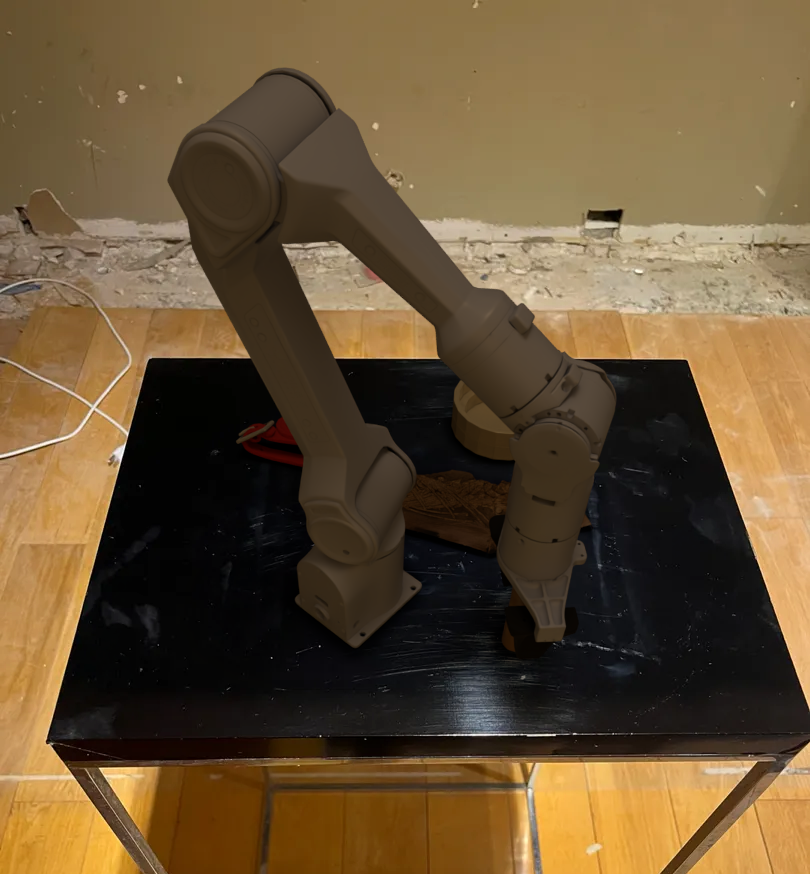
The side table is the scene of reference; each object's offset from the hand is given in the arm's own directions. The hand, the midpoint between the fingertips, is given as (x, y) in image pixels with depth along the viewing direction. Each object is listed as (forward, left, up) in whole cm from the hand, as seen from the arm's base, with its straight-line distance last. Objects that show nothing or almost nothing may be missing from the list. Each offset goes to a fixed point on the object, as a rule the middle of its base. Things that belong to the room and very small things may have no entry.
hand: (520, 618), depth 72 cm
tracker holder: (+5, +33, -4) cm, 34 cm away
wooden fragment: (+9, +13, -4) cm, 16 cm away
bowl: (+22, +18, -4) cm, 29 cm away
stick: (0, 0, -4) cm, 4 cm away
